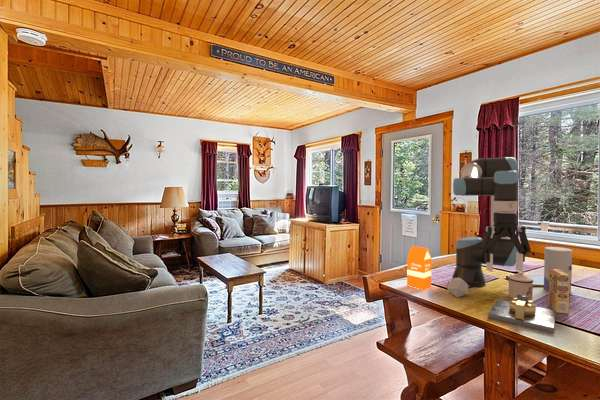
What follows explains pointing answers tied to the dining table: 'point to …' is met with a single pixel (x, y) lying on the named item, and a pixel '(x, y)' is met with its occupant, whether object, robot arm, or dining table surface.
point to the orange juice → (419, 268)
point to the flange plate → (539, 321)
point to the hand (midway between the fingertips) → (504, 270)
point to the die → (458, 287)
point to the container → (557, 263)
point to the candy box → (559, 291)
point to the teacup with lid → (520, 285)
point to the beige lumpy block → (522, 308)
